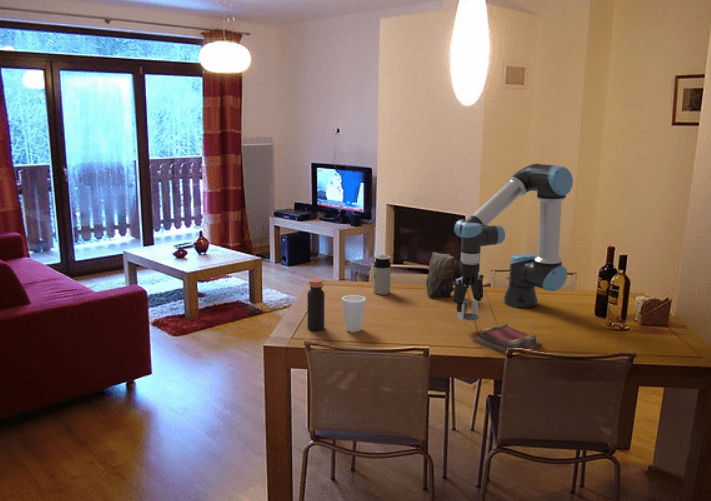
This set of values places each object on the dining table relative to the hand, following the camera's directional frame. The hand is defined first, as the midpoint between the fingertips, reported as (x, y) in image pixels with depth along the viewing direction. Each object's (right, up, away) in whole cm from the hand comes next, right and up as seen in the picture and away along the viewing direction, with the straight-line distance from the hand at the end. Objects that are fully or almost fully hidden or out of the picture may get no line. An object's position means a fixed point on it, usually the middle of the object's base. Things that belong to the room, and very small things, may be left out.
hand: (467, 317), depth 241 cm
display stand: (+13, -9, -14) cm, 21 cm away
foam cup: (-46, -5, -2) cm, 46 cm away
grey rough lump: (-6, +5, +45) cm, 46 cm away
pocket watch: (0, 0, 0) cm, 1 cm away
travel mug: (-33, +6, +48) cm, 58 cm away
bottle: (-61, -5, -1) cm, 61 cm away
